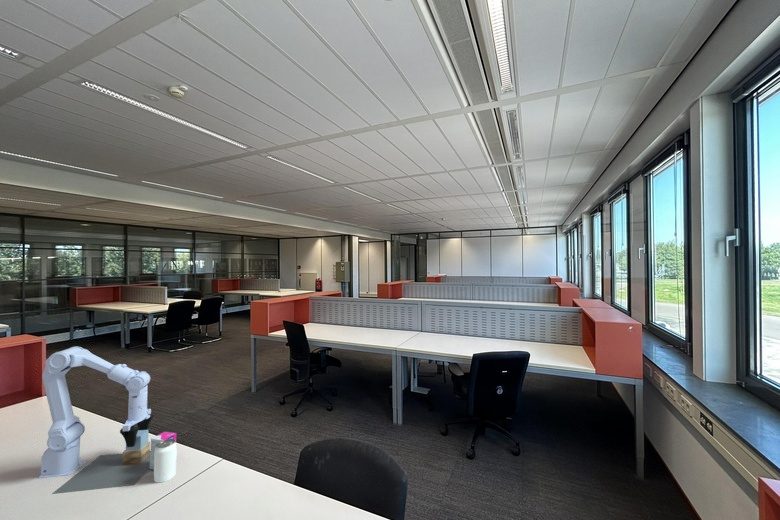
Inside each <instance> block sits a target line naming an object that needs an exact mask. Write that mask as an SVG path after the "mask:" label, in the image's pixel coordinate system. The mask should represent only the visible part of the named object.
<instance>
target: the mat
mask: <svg viewBox="0 0 780 520" xmlns="http://www.w3.org/2000/svg"><path fill="white" fill-rule="evenodd" d="M149 470H150V455H149V456H148V457H147V458H146V459H145V460H144V461H143V462H142V463H141V464H133V465H123V452H122V453H113V454H111V453H110V454H100V455H99V456H97V457H96V458H95V459H93V460H92V461H91V462H90V463H88V464H87V465H85V467H84V468H82V469H81V470H79V471H78V472H77V473H76V474H74V475H73V476H72V477H71V478H69V479H68V480H67V481H65V482H64V483H63V484H62V485H61V486H60V487H58V488H57V489H55V490H54V491H53V492H52V493H51V495H54V494H55V495H56V494H65V493H74V492H84V491H92V490H103V489H111V488H121V487H130V486H135V485H136V484H137V483H138V482H139V481H140V480H141V478H142V477H143V476H145V474H147V472H148V471H149Z"/></svg>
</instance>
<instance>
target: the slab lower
mask: <svg viewBox="0 0 780 520" xmlns="http://www.w3.org/2000/svg"><path fill="white" fill-rule="evenodd" d="M150 451H151V448H150V449H149V450H147V451H146V452H145V453H144V454H143V455H142V456H141V457H135V458H125V459H123V465H133V464H141V463H142V462H143V461H144V460H145V459H146V458H147V457H148V456H149V455H150Z"/></svg>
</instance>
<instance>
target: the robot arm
mask: <svg viewBox="0 0 780 520" xmlns="http://www.w3.org/2000/svg"><path fill="white" fill-rule="evenodd" d="M44 363H45V366H44V370H43V372H42V376H41V377H42V383H43V386H44V391H45V396H46V399H47V404H48V407H49V411H50V417H51V421H52V424H51V426H50V428H49V429H48V432H47V435H48V438H47V440H46V446H47V447H48V448H46V450H44V452H43V454H42V456H41V458H40V459H41V460H40V463H41V464H40V475H39V476H38V479H46V478H57V477H67V476H70V475H72V474H73V473H75V472H76V471H77V470H78V469H79V468H81V467H82V466H84V465H85V464H86V462H87V461H86V460H85V461H80V459H81V457H80V455H81V454H80V453H81V437H82V436H83V434H84V433H85V431H86V427H85V425H84V423H82V422H81V418H80V417H79V416H77V415H75V414H74V410H73V405H72V401H71V398H70V393H69V388H68V384H67V379H66V374H67V373H68V372H69V371H70V370H71V369H72V368H76V367H82V366H83V367H84V366H86V367H88V368H91V369H94V370H97V371H98V372H102V373H105V374H106V376H107V378H108V379H109V380H111V381H113V382H116V383H118V384H120V385H123V386H125V389H126V390H127V391H128V405H127V406H128V410H127V411H128V412H127V413H128V415H127V419H126V421H125V423H124V425H122V427H121V428H120V430H119V433H120V434H121V436H122V437H123V439H124V442H125V446H126V445H127V447H134V445H135V441H136V435H137V432H138V430H148V431H149V427H150V423H151V422H152V420H153V419H154V415H153V414H152V409H151V408H148V393H149V392H148V387H149V386H148V384H149V383H150V381H151V375H150V374H149V373H148V372H147V371H145V370H144V371H143V370H142V371H139V370H138V369H133V368H130V367H128V365H127V364H125V363H123V364H122V363H118V364H112V363H111V362H109V361H107V360H105V359H103V358H101V357H99V356H97V355H95V354H93V353H92V352H90V351H89V350H88V349H86V348H83V347H81V346H76V345H75V346H71V347H69V348H66V349H63V350H60V351H56V352H54V353H52V354H50V356H49V357H48V358H46V360H45V361H44ZM136 424H137V427H135V425H136Z"/></svg>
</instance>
